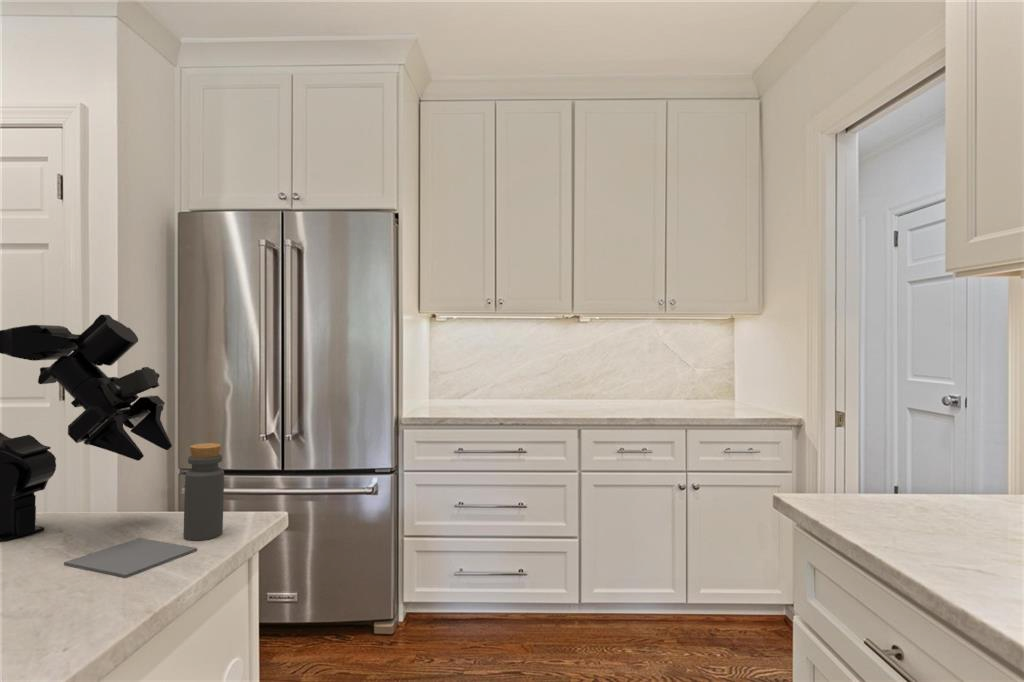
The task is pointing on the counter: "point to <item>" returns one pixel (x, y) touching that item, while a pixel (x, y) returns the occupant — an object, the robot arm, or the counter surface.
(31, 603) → the counter surface
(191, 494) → the bottle
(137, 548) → the slate mat
